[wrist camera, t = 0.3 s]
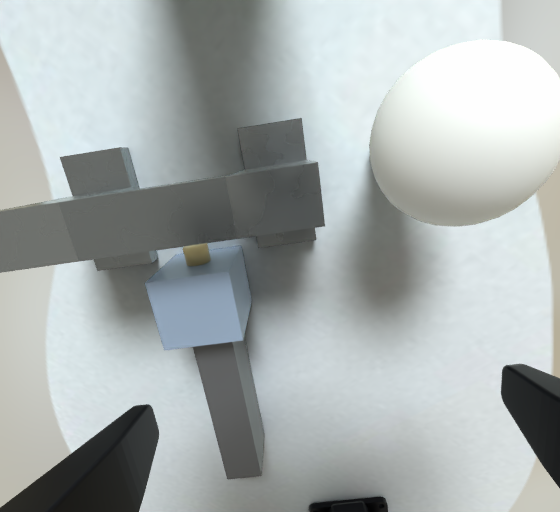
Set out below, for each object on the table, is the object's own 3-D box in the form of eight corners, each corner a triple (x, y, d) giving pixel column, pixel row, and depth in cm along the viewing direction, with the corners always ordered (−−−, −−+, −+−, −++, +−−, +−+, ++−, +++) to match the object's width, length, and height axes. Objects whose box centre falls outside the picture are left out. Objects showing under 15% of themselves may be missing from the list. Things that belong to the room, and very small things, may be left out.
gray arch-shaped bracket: (314, 236, 21) (330, 277, 14) (105, 265, 22) (17, 319, 15) (300, 119, 19) (310, 98, 12) (70, 157, 20) (-52, 157, 13)
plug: (277, 433, 26) (275, 496, 21) (222, 438, 26) (208, 502, 21) (238, 230, 21) (225, 252, 16) (172, 240, 21) (139, 264, 16)
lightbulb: (347, 208, 20) (414, 265, 10) (328, 105, 19) (385, 41, 8) (446, 185, 20) (626, 219, 9) (436, 77, 18) (643, -30, 8)
